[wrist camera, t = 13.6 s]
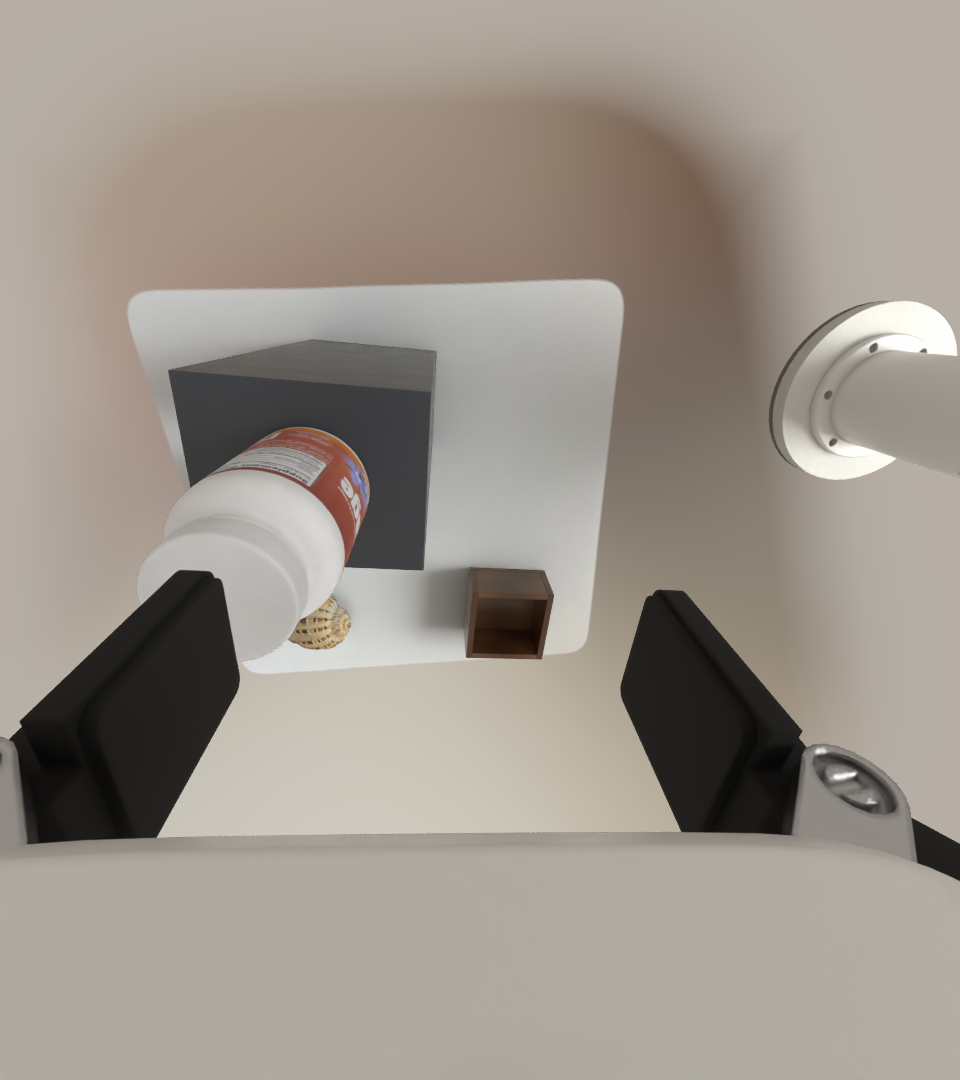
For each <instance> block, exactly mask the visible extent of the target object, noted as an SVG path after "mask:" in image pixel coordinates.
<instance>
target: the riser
mask: <svg viewBox="0 0 960 1080" xmlns="http://www.w3.org/2000/svg"><path fill="white" fill-rule="evenodd" d="M436 353H437V352H436V351H430V350H419V349H409V348H398V347H387V346H377V345H366V344H355V343H344V342H334V341H323V340H312V339H311V340H307V341H302V342H297V343H293V344H288V345H283V346H279V347H274V348H269V349H265V350H260V351H255V352H251V353H246V354H241V355H237V356H232V357H227V358H223V359H218V360H213V361H209V362H204V363H199V364H195V365H190V366H185V367H180V368H176V369H171V370H169V371H168V372H169V377H170V382H171V387H172V393H173V398H174V403H175V408H176V414H177V419H178V424H179V429H180V434H181V440H182V445H183V450H184V455H185V461H186V466H187V471H188V476H189V482H190V487H192V486H194V485H195V484H197V483H198V482H199V481H201V480H202V479H204V478H205V477H207V476H208V475H210V474H211V473H213V472H214V471H216V470H217V469H219V468H220V467H222V466H223V465H224V464H226V463H227V462H229V461H230V460H232V459H233V458H235V457H236V456H237V455H239V454H241V453H242V452H243V451H245V450H247V449H248V448H249V447H251V446H252V445H254V444H255V443H257V442H258V441H260V440H261V439H263V438H264V437H266V436H268V435H269V434H271V433H273V432H276V431H279V430H281V429H285V428H291V427H309V428H314V429H319V430H322V431H325V432H327V433H330V434H332V435H334V436H335V437H337V438H339V439H340V440H342V441H343V442H344V443H346V444H347V445H348V446H349V447H350V448H351V449H352V450H353V451H354V452H355V454H356V455H357V456H358V458H359V459H360V461H361V462H362V464H363V466H364V469H365V471H366V474H367V477H368V482H369V489H370V494H369V502H368V506H367V510H366V513H365V516H364V518H363V521H362V523H361V526H360V528H359V531H358V533H357V536H356V539H355V542H354V545H353V547H352V550H351V552H350V555H349V557H348V560H347V562H346V565H345V567H353V568H377V569H400V570H424V556H425V542H426V527H427V513H428V498H429V484H430V470H431V455H432V437H433V416H434V395H435V374H436Z"/></svg>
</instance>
